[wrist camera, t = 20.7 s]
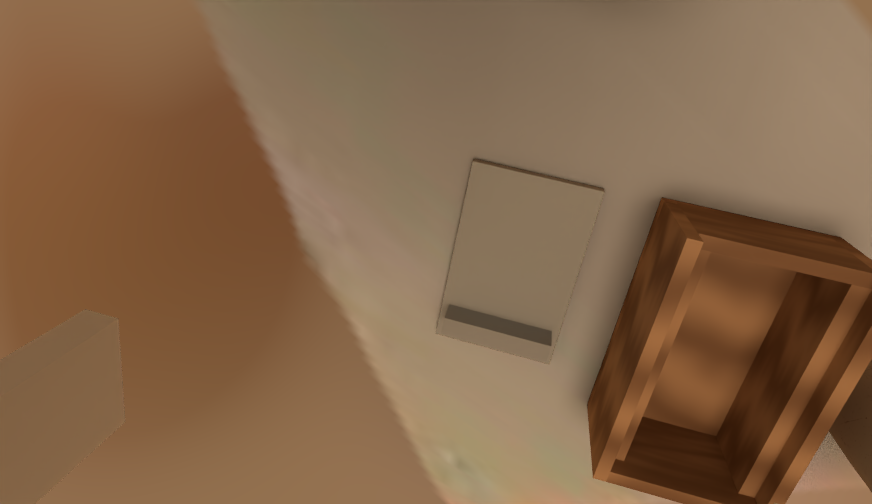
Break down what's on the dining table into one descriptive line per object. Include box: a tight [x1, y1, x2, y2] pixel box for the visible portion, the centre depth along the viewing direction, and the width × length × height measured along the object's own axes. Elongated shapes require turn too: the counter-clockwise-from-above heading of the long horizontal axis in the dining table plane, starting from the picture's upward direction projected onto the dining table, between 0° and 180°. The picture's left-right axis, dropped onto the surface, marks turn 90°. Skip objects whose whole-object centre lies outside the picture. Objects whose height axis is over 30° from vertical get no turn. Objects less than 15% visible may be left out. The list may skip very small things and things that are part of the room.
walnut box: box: [587, 197, 872, 504], centre depth 41 cm, size 20×13×9 cm, turn 170°
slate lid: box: [436, 159, 605, 364], centre depth 45 cm, size 16×10×4 cm, turn 169°
